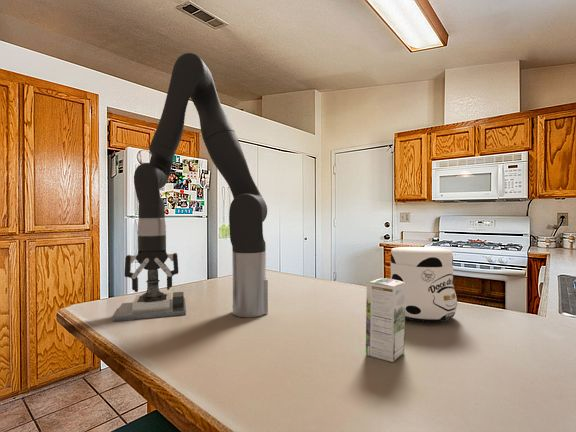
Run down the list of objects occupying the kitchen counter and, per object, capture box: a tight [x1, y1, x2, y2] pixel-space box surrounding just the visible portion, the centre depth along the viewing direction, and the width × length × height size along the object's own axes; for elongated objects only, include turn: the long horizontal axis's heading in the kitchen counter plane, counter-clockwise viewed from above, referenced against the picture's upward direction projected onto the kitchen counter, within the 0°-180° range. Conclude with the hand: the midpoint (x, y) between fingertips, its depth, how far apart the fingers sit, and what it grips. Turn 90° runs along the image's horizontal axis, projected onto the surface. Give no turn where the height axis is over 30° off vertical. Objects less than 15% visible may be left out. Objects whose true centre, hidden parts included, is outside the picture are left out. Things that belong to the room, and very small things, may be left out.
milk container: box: [389, 246, 458, 323], centre depth 91 cm, size 17×17×18 cm
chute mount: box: [112, 291, 187, 322], centre depth 97 cm, size 18×14×4 cm
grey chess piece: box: [141, 269, 164, 302], centre depth 97 cm, size 6×6×12 cm
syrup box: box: [365, 277, 406, 363], centre depth 66 cm, size 6×6×14 cm
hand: (152, 290), depth 97 cm, fingers open, 8 cm apart
